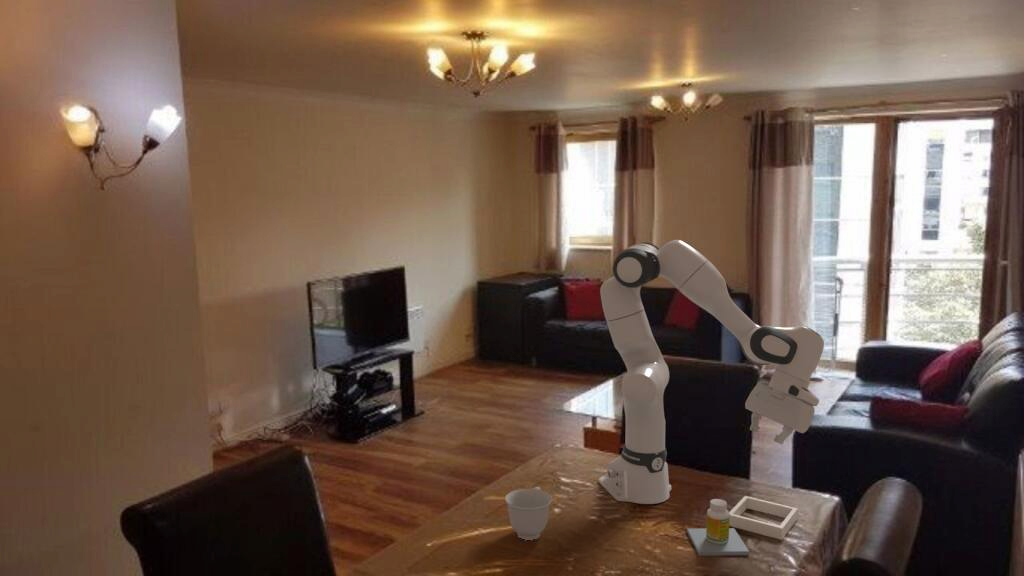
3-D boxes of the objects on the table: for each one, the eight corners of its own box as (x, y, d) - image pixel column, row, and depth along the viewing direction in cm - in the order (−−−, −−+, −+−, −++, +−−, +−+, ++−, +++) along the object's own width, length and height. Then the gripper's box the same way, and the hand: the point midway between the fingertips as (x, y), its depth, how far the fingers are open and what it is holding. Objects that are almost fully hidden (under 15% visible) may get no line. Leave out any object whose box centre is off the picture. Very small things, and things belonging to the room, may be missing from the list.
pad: (687, 532, 190) (687, 528, 190) (733, 531, 190) (734, 528, 190) (699, 555, 178) (699, 551, 178) (749, 555, 178) (749, 551, 178)
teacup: (560, 523, 195) (561, 487, 194) (544, 550, 181) (544, 511, 180) (517, 517, 199) (517, 481, 198) (498, 542, 185) (497, 504, 184)
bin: (726, 525, 194) (727, 514, 193) (744, 506, 205) (745, 495, 205) (781, 539, 186) (782, 528, 185) (797, 519, 197) (797, 508, 197)
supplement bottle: (721, 546, 180) (722, 508, 179) (701, 539, 184) (703, 502, 183) (732, 539, 184) (734, 502, 183) (713, 532, 188) (714, 495, 186)
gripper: (752, 373, 200) (731, 420, 199) (807, 393, 181) (783, 445, 180) (768, 381, 202) (747, 428, 202) (824, 402, 183) (801, 454, 183)
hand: (765, 437), depth 191 cm, fingers open, 8 cm apart
